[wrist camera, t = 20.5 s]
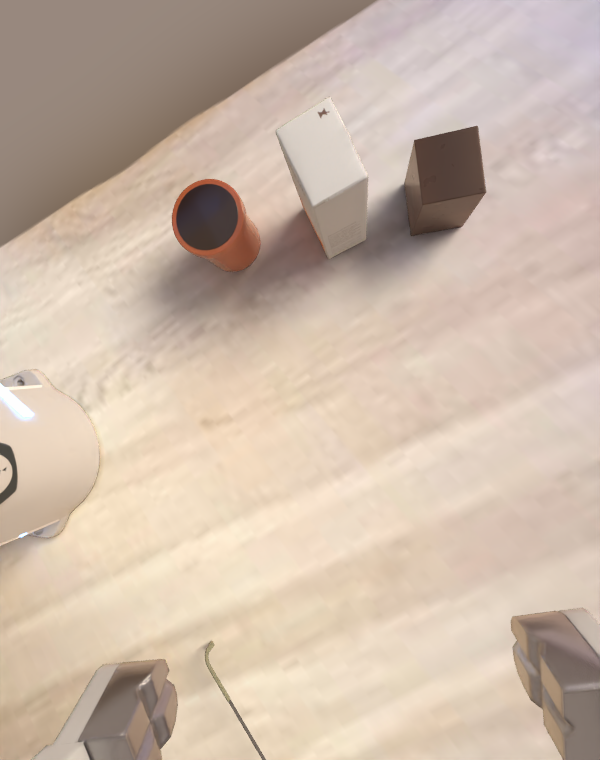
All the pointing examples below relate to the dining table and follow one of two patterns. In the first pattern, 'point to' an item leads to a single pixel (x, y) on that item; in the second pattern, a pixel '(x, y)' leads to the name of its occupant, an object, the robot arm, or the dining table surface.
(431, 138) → the walnut block
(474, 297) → the dining table surface
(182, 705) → the dining table surface
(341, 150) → the cosmetic box
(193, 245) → the flower pot
